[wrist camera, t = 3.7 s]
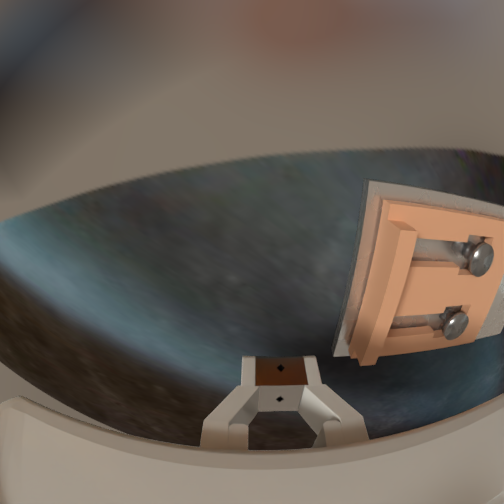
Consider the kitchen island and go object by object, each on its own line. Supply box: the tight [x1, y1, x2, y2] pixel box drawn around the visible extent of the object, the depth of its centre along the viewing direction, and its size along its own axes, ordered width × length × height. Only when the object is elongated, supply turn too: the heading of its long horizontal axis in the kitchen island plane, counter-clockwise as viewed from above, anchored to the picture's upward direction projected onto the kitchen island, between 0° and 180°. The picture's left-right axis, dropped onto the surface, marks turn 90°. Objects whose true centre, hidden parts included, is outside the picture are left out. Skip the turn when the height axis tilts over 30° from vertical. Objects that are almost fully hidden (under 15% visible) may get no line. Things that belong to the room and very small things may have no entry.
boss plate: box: [331, 178, 504, 357], centre depth 17 cm, size 14×22×3 cm, turn 88°
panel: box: [348, 199, 504, 366], centre depth 16 cm, size 12×14×3 cm
